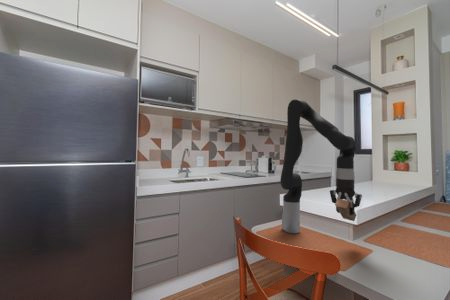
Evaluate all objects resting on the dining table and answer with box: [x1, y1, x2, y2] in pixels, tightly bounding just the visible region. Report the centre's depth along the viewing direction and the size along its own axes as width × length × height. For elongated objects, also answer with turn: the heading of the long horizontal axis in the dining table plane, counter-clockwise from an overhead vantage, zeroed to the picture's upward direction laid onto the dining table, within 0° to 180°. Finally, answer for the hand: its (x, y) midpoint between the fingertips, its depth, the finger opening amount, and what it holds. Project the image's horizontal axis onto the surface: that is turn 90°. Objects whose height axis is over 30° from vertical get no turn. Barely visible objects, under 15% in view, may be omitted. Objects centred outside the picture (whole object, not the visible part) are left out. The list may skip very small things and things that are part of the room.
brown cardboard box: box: [334, 198, 357, 222], centre depth 98 cm, size 5×4×11 cm
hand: (345, 213), depth 98 cm, fingers closed on brown cardboard box, 5 cm apart
